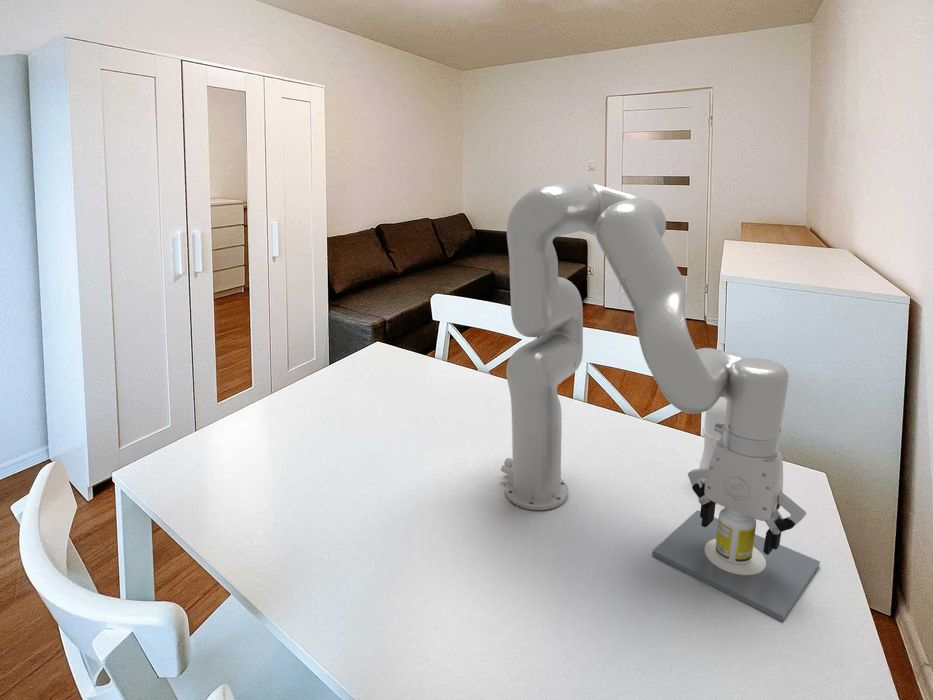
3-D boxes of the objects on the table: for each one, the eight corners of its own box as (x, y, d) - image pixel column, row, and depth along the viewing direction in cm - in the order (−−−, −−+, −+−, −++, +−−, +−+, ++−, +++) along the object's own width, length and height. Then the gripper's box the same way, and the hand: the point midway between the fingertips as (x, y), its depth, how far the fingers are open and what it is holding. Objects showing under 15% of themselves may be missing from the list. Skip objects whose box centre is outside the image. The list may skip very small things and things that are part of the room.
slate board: (652, 555, 91) (652, 550, 91) (696, 514, 101) (697, 509, 101) (782, 621, 77) (783, 615, 77) (819, 566, 87) (820, 560, 87)
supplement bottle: (753, 550, 90) (760, 498, 87) (749, 570, 85) (757, 516, 82) (717, 540, 93) (723, 489, 90) (712, 558, 88) (718, 506, 85)
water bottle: (741, 494, 107) (756, 375, 99) (702, 491, 108) (714, 373, 101) (731, 475, 114) (745, 362, 106) (695, 473, 115) (706, 361, 107)
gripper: (683, 430, 86) (674, 523, 91) (805, 470, 74) (787, 574, 79) (704, 416, 91) (695, 504, 96) (823, 450, 79) (805, 550, 84)
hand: (737, 536), depth 88 cm, fingers open, 9 cm apart
